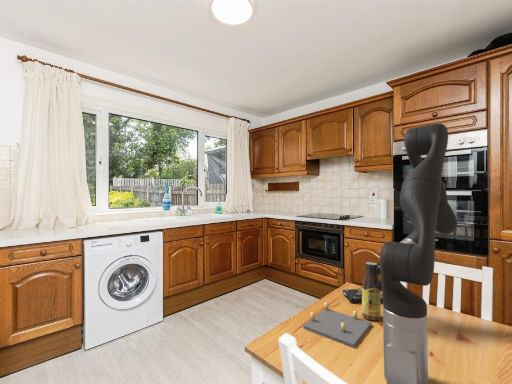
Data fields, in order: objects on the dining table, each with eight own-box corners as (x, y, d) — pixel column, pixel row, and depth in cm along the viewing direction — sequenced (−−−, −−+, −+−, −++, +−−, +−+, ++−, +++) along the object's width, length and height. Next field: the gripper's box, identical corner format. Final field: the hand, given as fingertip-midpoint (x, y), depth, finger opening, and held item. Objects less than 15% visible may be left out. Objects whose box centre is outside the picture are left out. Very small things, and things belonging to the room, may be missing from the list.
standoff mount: (353, 347, 74) (353, 335, 74) (303, 328, 85) (303, 318, 85) (371, 325, 87) (371, 315, 87) (325, 310, 98) (325, 301, 98)
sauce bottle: (369, 323, 89) (369, 266, 89) (358, 314, 95) (357, 261, 95) (385, 320, 90) (384, 264, 91) (372, 312, 96) (372, 260, 97)
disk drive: (351, 305, 104) (386, 304, 105) (351, 298, 104) (386, 297, 105) (342, 295, 115) (374, 294, 115) (342, 289, 115) (374, 288, 115)
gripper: (389, 242, 99) (359, 271, 100) (406, 250, 85) (371, 283, 86) (403, 256, 98) (373, 284, 99) (424, 266, 84) (388, 299, 85)
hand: (372, 284), depth 93 cm, fingers open, 8 cm apart
